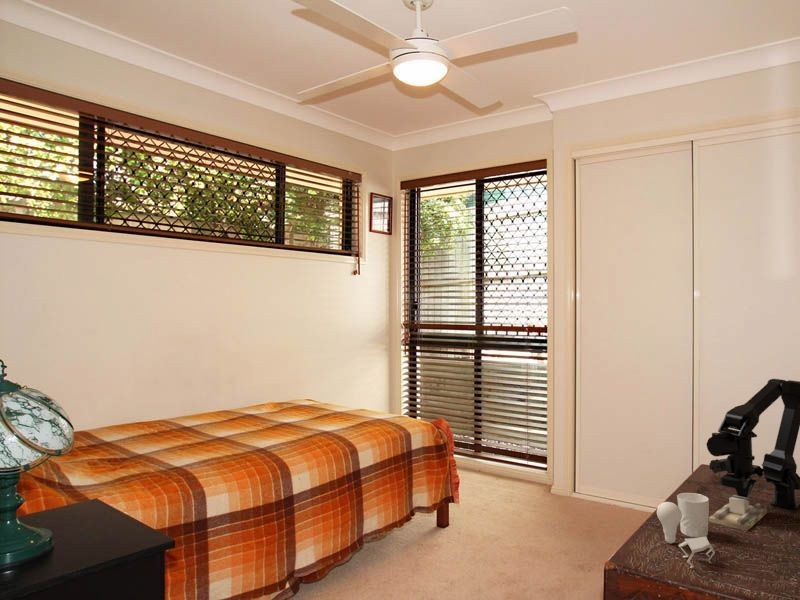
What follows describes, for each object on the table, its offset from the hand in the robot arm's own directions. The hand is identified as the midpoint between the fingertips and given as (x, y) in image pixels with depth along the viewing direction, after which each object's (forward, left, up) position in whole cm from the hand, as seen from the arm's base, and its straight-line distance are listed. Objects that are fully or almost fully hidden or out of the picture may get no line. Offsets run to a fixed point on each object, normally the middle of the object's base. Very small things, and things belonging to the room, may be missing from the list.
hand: (743, 504), depth 172 cm
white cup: (+25, -5, -3) cm, 26 cm away
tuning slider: (+4, 0, -1) cm, 4 cm away
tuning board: (+5, 0, -3) cm, 5 cm away
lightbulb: (+36, -7, -3) cm, 37 cm away
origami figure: (+43, +2, -3) cm, 43 cm away
